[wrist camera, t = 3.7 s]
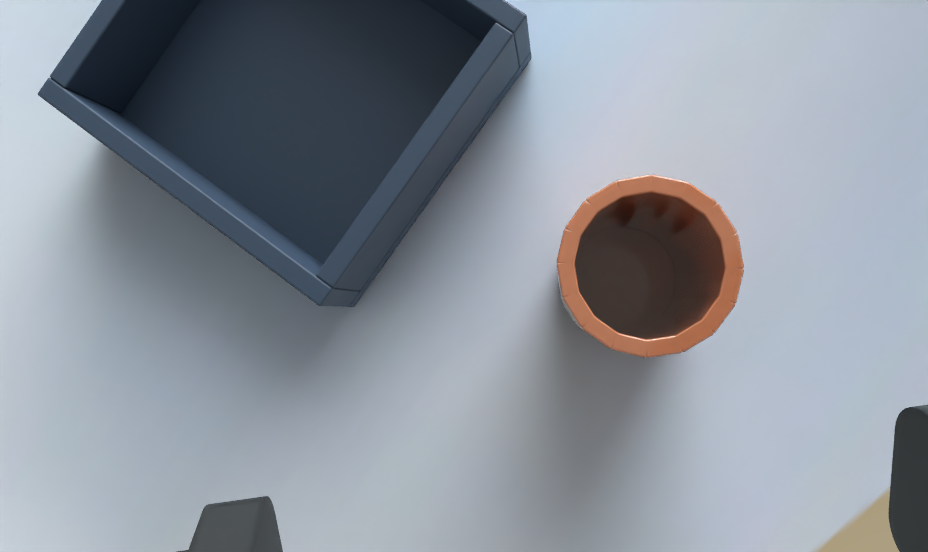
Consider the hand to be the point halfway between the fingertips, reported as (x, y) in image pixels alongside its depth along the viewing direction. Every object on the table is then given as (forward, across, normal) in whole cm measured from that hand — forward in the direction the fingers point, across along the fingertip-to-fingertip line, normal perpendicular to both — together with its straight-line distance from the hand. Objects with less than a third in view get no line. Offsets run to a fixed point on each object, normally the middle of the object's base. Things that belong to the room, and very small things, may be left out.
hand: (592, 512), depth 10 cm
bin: (+27, +5, -4) cm, 27 cm away
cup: (+21, -6, +5) cm, 23 cm away
